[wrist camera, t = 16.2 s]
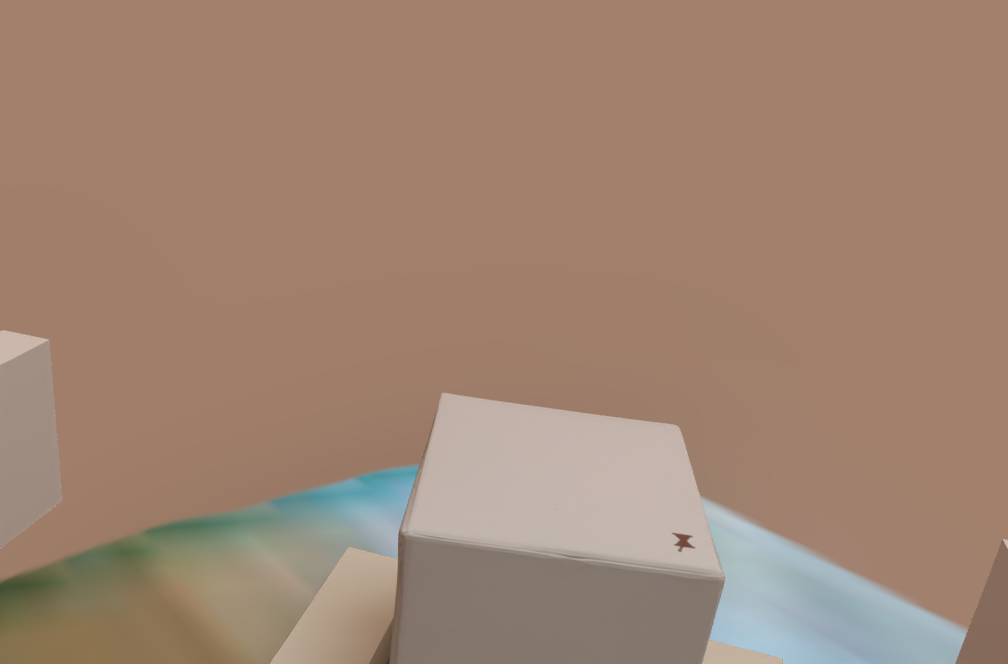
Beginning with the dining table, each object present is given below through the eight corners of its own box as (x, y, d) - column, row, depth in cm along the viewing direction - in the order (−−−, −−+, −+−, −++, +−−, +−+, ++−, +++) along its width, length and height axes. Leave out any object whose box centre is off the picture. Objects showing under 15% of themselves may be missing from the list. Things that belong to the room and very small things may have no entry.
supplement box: (611, 745, 31) (690, 421, 26) (626, 964, 24) (735, 578, 20) (399, 713, 31) (439, 384, 27) (354, 922, 24) (397, 527, 20)
